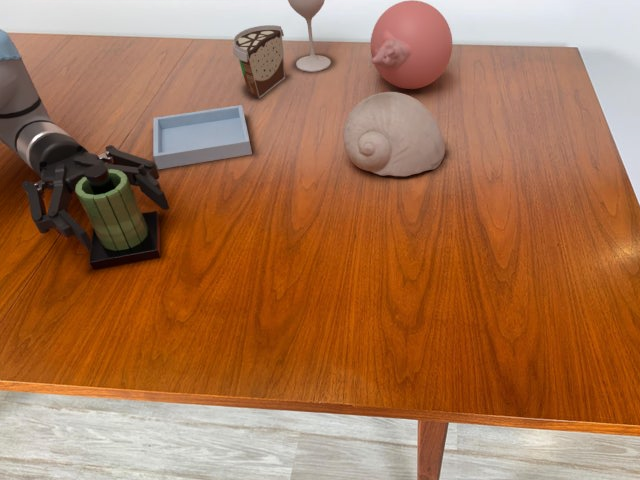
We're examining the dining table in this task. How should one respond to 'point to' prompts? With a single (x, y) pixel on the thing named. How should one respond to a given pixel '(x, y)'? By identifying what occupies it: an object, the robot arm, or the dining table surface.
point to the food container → (260, 58)
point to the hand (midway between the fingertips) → (127, 220)
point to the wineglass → (310, 35)
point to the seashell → (393, 135)
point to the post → (143, 251)
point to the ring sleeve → (114, 213)
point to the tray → (200, 137)
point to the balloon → (411, 44)
